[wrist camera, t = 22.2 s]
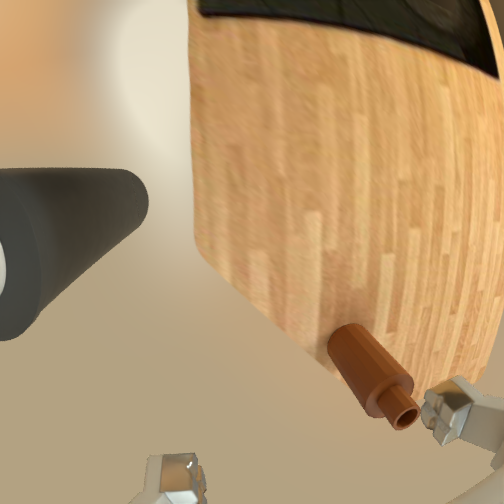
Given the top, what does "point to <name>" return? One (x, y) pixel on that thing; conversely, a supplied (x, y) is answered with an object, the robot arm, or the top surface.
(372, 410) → the vase
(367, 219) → the top surface
